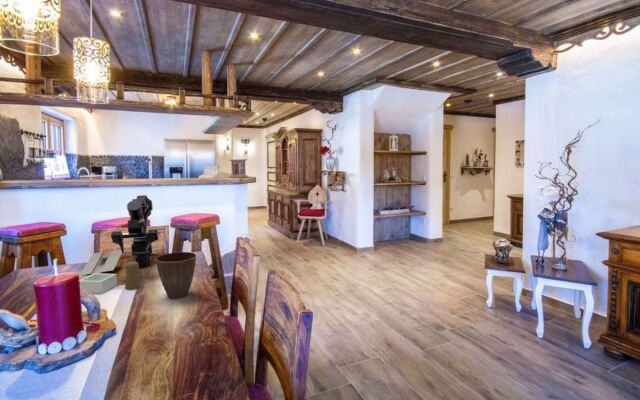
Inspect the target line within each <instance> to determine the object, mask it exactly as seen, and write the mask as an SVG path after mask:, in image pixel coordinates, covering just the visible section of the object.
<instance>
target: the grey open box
mask: <svg viewBox="0 0 640 400" xmlns="http://www.w3.org/2000/svg"><path fill="white" fill-rule="evenodd" d="M117 275H118V274H117V273H101V274H98V273H94V274H92V275H91V274H89V275H88V276H85V277H82V278H81V279H79V280H80V287H81V290H86V291H89V292H91V293H90V294H98V295H99V294H101V295H103V294H104V293H106V292H108V291H109V290H111V289H113V288H115V287H116V286H118V278H117V277H118V276H117Z"/></svg>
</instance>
